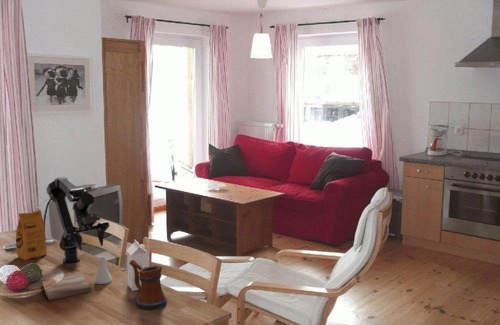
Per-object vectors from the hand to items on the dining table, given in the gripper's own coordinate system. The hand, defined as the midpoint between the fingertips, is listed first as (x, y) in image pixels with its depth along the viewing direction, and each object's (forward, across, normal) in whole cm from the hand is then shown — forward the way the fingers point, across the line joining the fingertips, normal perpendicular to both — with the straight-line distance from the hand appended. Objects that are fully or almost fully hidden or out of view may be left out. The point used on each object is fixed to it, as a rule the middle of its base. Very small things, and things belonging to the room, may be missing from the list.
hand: (91, 247), depth 224 cm
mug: (+32, +6, -23) cm, 40 cm away
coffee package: (-15, -13, +43) cm, 47 cm away
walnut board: (+14, -14, +3) cm, 20 cm away
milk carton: (+24, +10, -11) cm, 28 cm away
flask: (+15, +1, +1) cm, 15 cm away
